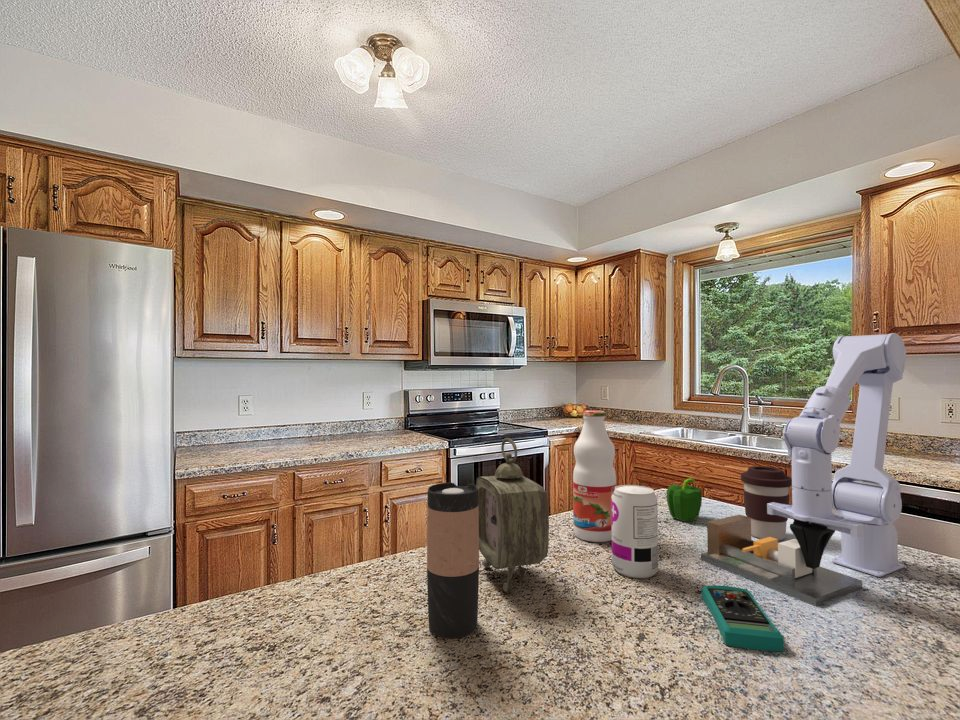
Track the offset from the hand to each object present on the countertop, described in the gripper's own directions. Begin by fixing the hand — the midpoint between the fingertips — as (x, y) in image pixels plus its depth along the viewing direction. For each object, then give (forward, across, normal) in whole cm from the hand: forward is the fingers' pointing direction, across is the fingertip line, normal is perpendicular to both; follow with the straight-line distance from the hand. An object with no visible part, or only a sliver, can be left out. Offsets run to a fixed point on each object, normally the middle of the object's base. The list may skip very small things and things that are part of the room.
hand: (812, 566), depth 84 cm
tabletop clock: (+4, -28, -44) cm, 52 cm away
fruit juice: (+4, -37, -16) cm, 41 cm away
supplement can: (+4, -19, -22) cm, 29 cm away
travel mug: (+4, -18, -60) cm, 63 cm away
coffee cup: (+4, -19, +18) cm, 27 cm away
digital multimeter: (+4, +2, -22) cm, 23 cm away
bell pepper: (+4, -36, +12) cm, 38 cm away
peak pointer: (+2, -8, -2) cm, 9 cm away
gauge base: (+3, -6, 0) cm, 7 cm away
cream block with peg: (+2, -4, 0) cm, 5 cm away
